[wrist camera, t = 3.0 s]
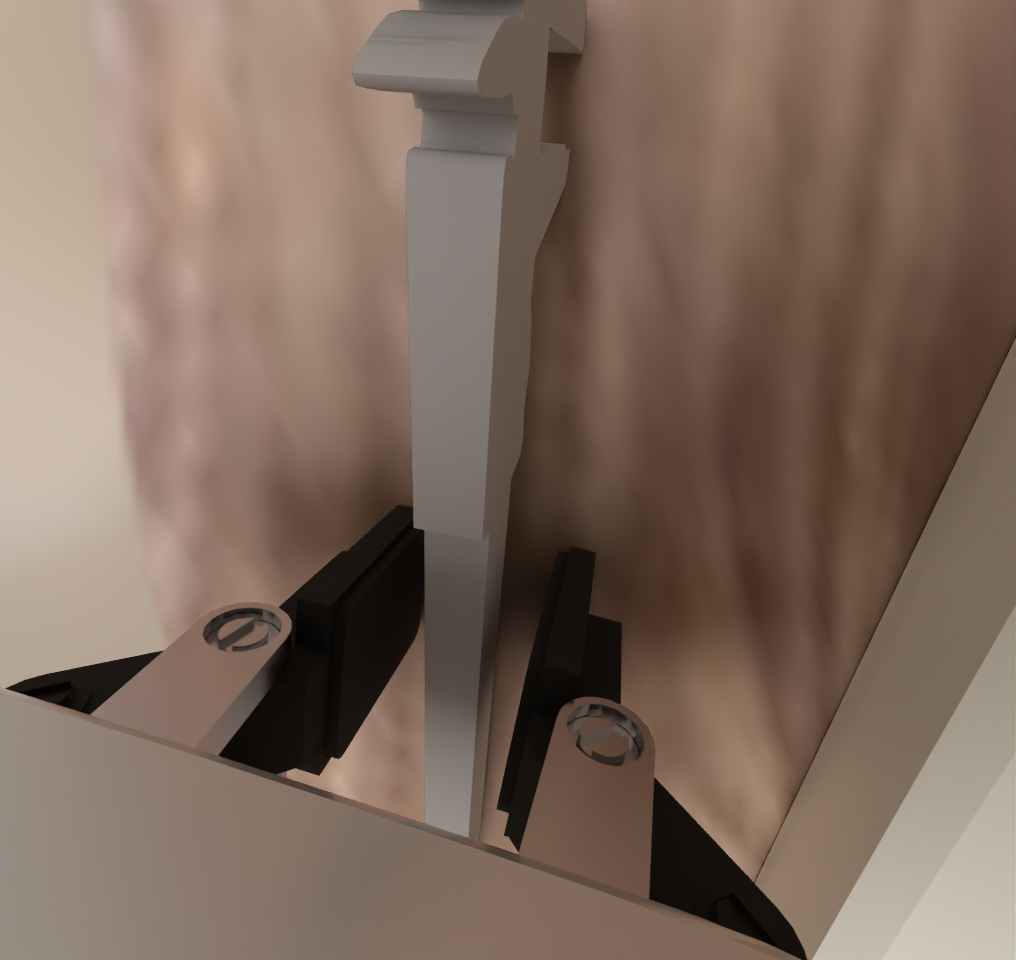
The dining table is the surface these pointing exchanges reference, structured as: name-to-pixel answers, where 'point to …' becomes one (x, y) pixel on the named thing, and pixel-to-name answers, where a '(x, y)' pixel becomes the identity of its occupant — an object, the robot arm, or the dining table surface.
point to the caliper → (470, 330)
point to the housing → (923, 744)
